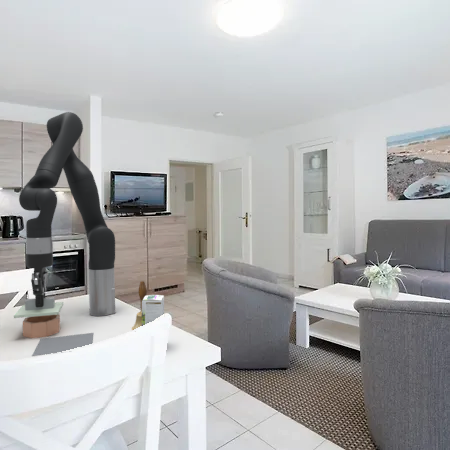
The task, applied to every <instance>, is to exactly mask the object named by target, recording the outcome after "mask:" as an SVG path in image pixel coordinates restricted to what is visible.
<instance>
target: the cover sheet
mask: <svg viewBox="0 0 450 450" xmlns="http://www.w3.org/2000/svg"><path fill="white" fill-rule="evenodd" d="M55 298H56V297H55V296H53V297H51V296H49V297H45V298H44V306H43V307H36V305H35V298H26V299H25V301H24V304H22V306H21V307H20V308H19V309H18V310H17V311H16V313H15V314H14V315H13V319H20V318H27V317H34V316H46V315H58V314H59V315H60V312H61V310H62V308H63V306H64V301H61V302H60V301H59V302H55V300H56V299H55Z"/></svg>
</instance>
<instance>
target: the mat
mask: <svg viewBox="0 0 450 450" xmlns="http://www.w3.org/2000/svg"><path fill="white" fill-rule="evenodd" d="M94 336H95V335H94V332H88V333H80V334H72V335H61V336H54V337H42V338H40V339H39V341H38V343H37V345H36V347H35V349H34V352H33V353H32V355H31V357H36V356H37V357H38V356H45V354H46V355H52V354H51V353H53V354H58V353H57V352H61V353H63V352H62V351H66V350H70V349H74V348H77V347H82V346H85V345H89V344H92V343H93V344H94Z"/></svg>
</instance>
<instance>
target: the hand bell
mask: <svg viewBox="0 0 450 450" xmlns="http://www.w3.org/2000/svg"><path fill="white" fill-rule="evenodd" d="M139 282H140V283H139V285H138V297H139V300H140V311H139V312H137V314H136V316H135V322H134V324H133V326H132V327H131V330H132V331H133V330H134V329H136V328H138V327H140V326H142V300H143V299H144V297H145V296H147V293H148V292H147V291H148V290H147V287H146V286H147V285H146V283H145V281H144V280H142V281H139Z"/></svg>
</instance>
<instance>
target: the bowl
mask: <svg viewBox="0 0 450 450" xmlns="http://www.w3.org/2000/svg"><path fill="white" fill-rule="evenodd" d="M60 330H61V314H60V313H59V314H58V315H46V316H34V317H24V319H23V321H22V337H25V338H29V339H38V338H48V337H50V336H52V335H55V334H57V333H60Z"/></svg>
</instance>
